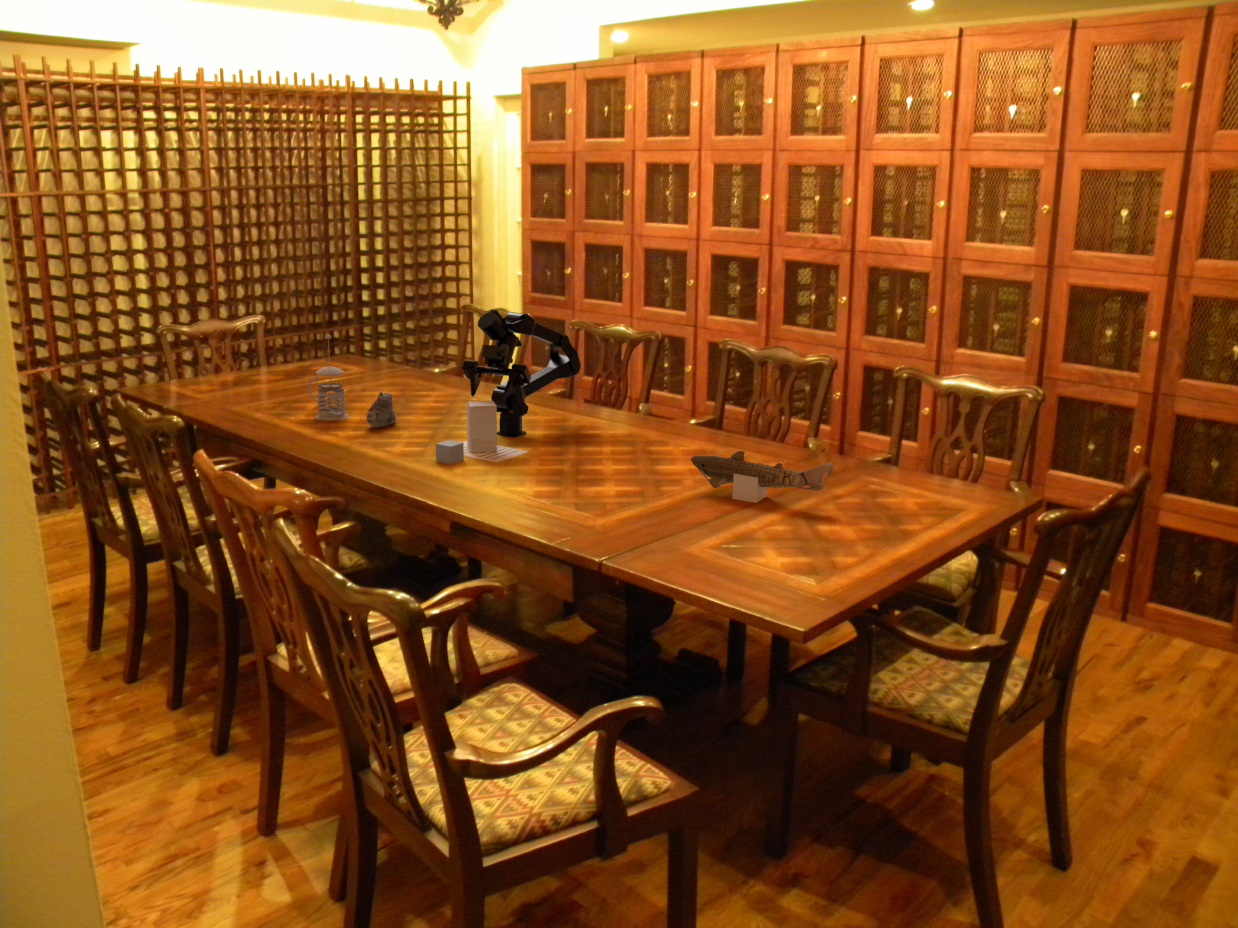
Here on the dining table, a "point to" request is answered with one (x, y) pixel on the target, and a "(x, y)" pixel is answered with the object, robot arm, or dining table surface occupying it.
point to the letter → (494, 453)
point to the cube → (449, 452)
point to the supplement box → (482, 426)
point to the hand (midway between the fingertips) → (487, 397)
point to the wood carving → (756, 476)
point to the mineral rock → (381, 411)
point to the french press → (330, 394)
